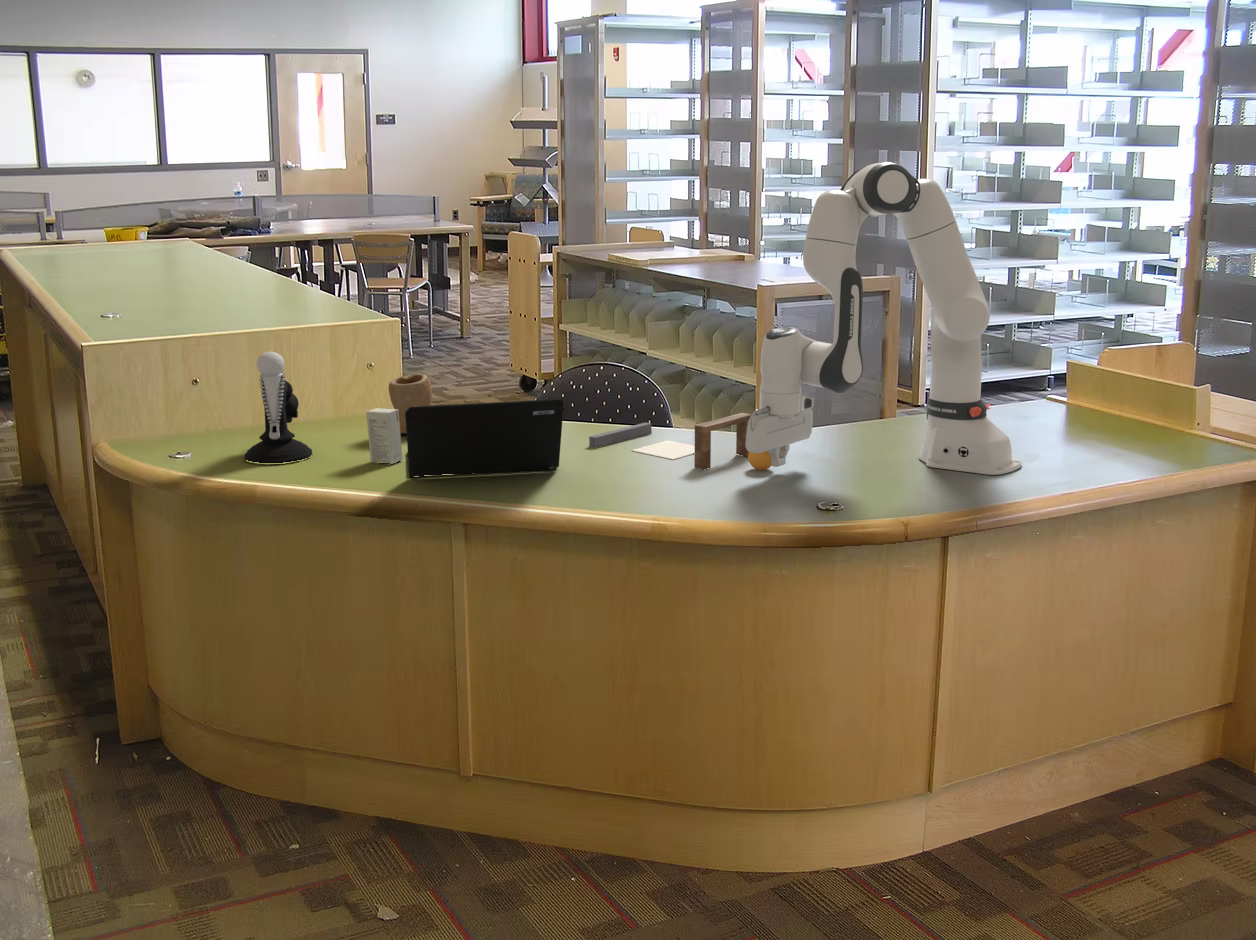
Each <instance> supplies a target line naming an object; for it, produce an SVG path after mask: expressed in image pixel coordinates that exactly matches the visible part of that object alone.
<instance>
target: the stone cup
mask: <svg viewBox="0 0 1256 940" xmlns="http://www.w3.org/2000/svg"><path fill="white" fill-rule="evenodd" d="M388 394H389V399H390V401H391V405H392V407H393V409H398V410H399V422H400V434H403V435H407V434H406V418H405V412H406V411H407V410H408V408H409V407H418V406H432V400H433V399H432V397H433V389H432V384H431V380H430V378H429V377H428V376H427V375H425V374H423V373H413V374H410V375H400V376H397V377H394V378H393V379H392V380H390V382H389V384H388Z"/></svg>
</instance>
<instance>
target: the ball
mask: <svg viewBox="0 0 1256 940" xmlns="http://www.w3.org/2000/svg"><path fill="white" fill-rule="evenodd" d="M747 460H748V463H749V465H750V466H751V467H752V468H754V469H756V470H759V471H765V470H768V469H770V468H771V467H773V466H772V465H771V457H770V455H769V453H768V451H766V452H763V453H753V452H749V453H748V457H747Z"/></svg>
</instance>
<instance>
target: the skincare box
mask: <svg viewBox="0 0 1256 940" xmlns="http://www.w3.org/2000/svg"><path fill="white" fill-rule="evenodd" d="M365 414H366V421H367V432H368V433H367V435H368V436H367V437H368V444H369V458H370V462H371V461H373V462H382V463H391V464H393V463H395V464H397V463H396V462H398V461H400V462H402V461H403V450H402V437H401V434H400V422H399V410H398V409H394V408H383V407H381V408H379V407H376V408H373V409H370V410H367V411H366V412H365ZM401 460H402V461H401ZM398 463H399V462H398ZM391 464H390V465H391ZM393 465H394V464H393Z"/></svg>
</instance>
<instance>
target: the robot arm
mask: <svg viewBox="0 0 1256 940" xmlns="http://www.w3.org/2000/svg"><path fill="white" fill-rule="evenodd" d="M943 191H944V190H942V187H940V185H939V183H938V182H936V181H935V180H933V179H930V178H918V179H917V178H916V177H915V176H913V175H912V174H911V173H910V172H909V170H907V169H906V168H905V167H903V166H902V165H900V164H898V163H895V162H891V161H885V162H877V163H872V164H869V165H867V166H865V167H863V168H860V169H858V170H856V171H854V172H853V173H852V174H851V175H850V176H849V177H848V179H847V180H846V181H845V182H844V184H843V185H842V187H841V188H840V189H832V190H827V191H825V192H823V193H821V194H820V195H819V196H818V197H817V199H816V200H815V203H814V205H813V208H812V211H811V215H810V217H809V221H808V225H807V230H806V235H805V239H804V245H803V250H802V252H803V253H802V261H803V267H804V270H805V271H806V273H807V274H808V276H809V278H811V279H812V280H813V281H814V282H815V283H817V284H819V286H821V287H823V288H824V289H825V290H826V291H827V292H828V293H829V294H830V295H831V297H832V300H833V301H834V330H833V331H834V332H833V342H832V343H830V342H829V343H828V342H823V341H821V340H815V339H812V338H810V337H807V336H806V335H804V334H802V333H801V331H800V330H799V329H798V328H796V327H793V326H792V327H791V326H782V327H775V328H772V329H770V330H769V331H767V332H766V333H765V335H764V338H763V340H762V345H761V349H760V350H761V351H760V352H761V353H760V366H759V368H760V373H761V383H760V386H759V406H758V407H759V408H757V409H754V411H753V413H752V416H751V417H750V420H749V422H748V426H747V433H746V444H745V446H746V449H747V451H749V452H753V453H763V452H766V451H768V453H769V455H770V457H771V465H772V466H771V467H774V468H778V467H781V466H784V465H786V461H787V460H786V459H787V455H788V453H789V451H790V445H791V444H795V443H797V442H801V441H805V440H808V439H809V438H810V437H811V435H812V432H813V422H814V421H813V417H814V416H813V415H814V413H813V410H812V408H814V404H815V400H814V398H813V397H811V396H806V395H802V387H801V385H802V384H807V385H809V386H813V387H819V388H823V389H825V390H828V391H831V392H834V393H837V394H843V393H846V392H848V391H850V390H851V389H852V388H853V387H855V386H856V385H857V384H858V383H859V381H860V379H861V377H862V374H863V370H864V362H863V355H862V327H863V326H862V324H863V307H864V306H863V302H864V301H863V299H864V288H863V278H862V275H861V274H860V272H859V271H858V269H857V263H856V262H857V261H856V255H857V254H856V252H857V251H856V250H857V246H858V239H859V232H860V229H861V227H862V225H863V223H864V221H865V220H866V219H867V218H871V217H873V218H876V217H884V216H886V215H891V214H892V215H893V216H894V217H896V219H898V221H899V223H900V224H901V225H902V229H903V234H904V235H905V238H906V239H905V240H906V241H907V244H908V247H909V250H910V253H911V256H912V259H913V261H914V264H915V267H916V268H915V269H916V270H917V272H918V275H919V277H920V280H921V283H922V285H923V287H924V289H925V293H926V295H927V298H928V299H929V303H930V305H931V307H930V355H931V357H930V360H931V361H930V363H931V364H930V381H929V396H928V397H927V401H926V420H927V422H926V429H925V435H924V440H923V443H922V447H921V449H920V453H919V455H918V458H919V460H921V461H922V462H924V464H925V465H926V467H929V468H935V469H936V468H937V469H942V470H950V471H959V472H965V473H966V472H967V473H974V474H982V475H988V476H989V475H991V476H995V475H1003V474H1009V473H1010V472H1014V471H1016V470H1018V469H1020V468H1021V467H1022V459H1020V458H1016V457H1013V451H1012V443H1011V440H1010V437H1009V436H1008V435H1007V434H1006V433H1004V431H1003V430H1001V429H1000V428H999V426H997V425H996V424H995V423H994V422H993V421H992V420H990V419H989V418H988V415H987V410H990V409H991V403H989V404H985V403H984V402H983V400H982V398H981V391H982V375H983V359H982V335H983V334H984V332H985V331H986V330H987V328H988V326H989V323H990V320H991V319H990V317H991V314H990V313H991V311H990V308H989V304H988V303H987V302H988V301H987V300H986V297H985V294H984V292H983V289H982V285H981V284H980V281H979V279H978V277H977V273H976V271H975V270H974V267H973V264H972V262H971V259H970V257H969V255H968V251H967V250H966V247H965V243H964V241H963V238H962V235H961V231H960V230H959V226H958V223H957V219H956V217H955V215H954V213H953V212H954V211H953V210H952V208H951V205H950V202H949V201H948V199H947V197H946V195H945V193H944V192H943Z"/></svg>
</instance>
